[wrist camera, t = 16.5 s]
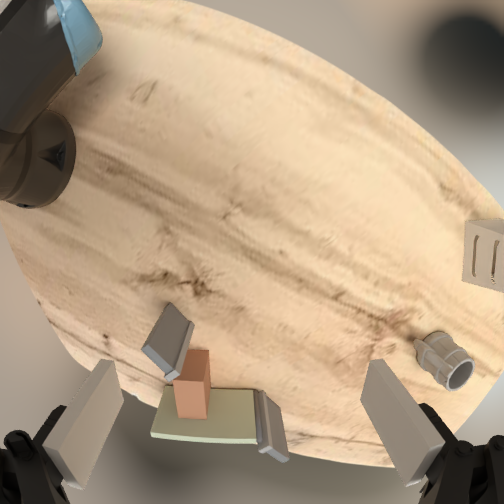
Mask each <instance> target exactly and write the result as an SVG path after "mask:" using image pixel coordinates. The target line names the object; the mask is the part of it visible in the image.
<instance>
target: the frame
mask: <svg viewBox="0 0 504 504" xmlns="http://www.w3.org/2000/svg"><path fill="white" fill-rule="evenodd" d="M194 326H195V325H194V324H193V323H192V322H189V321H188V320H187V319H186V318H185V317H184V316H183V315H182V314H181V313H180V312H179V311H178V310H177V309H176V308H175V306H174V305H173V304H172V303H170V304H169V305H167V306H166V307H165V308H164V310H163V312H162V314H161V315H160V317H159V319H158V320H157V322H156V324H155V326H154V327H153V329H152V331H151V333H150V334H149V336H148V338H147V340H146V341H145V343H144V345H143V347H142V349H141V350H142V351H143V352H144V353H145V354H146V355H147V356H148V357H149V358H150V359H151V360H152V361H153V362H154V363H155V364H156V365H157V366H158V367H159V368H160V369H161V370H162V371H163V372H165V376H164V378H165V379H166V380H167V381H168V382H170V381H171V380H173V379H174V378H176V377H177V376H179V375H180V374H181V370H182V367H183V363H184V360H185V356H186V353H187V350H188V346H189V343H190V340H191V336H192V333H193V330H194ZM258 400H259V410H260V420H261V430H262V442H261V443H258V451H259V452H260V453H264V452H266V453H268V454H269V455H271V456H273V457H274V458H276V459H277V460H279V461H281V462H282V463H284V462H286V461H288V460H290V458H289V453H288V447H287V442H286V437H285V431H284V426H283V420H282V415H281V410H280V407H279V406H278V405H276V404H275V403H274V402H273V401H272V400H271V399H270V398H268V397H267V396H266V393H265V392H264V391H263V390H262V391H261V392H259V393H258Z"/></svg>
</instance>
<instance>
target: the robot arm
mask: <svg viewBox="0 0 504 504" xmlns="http://www.w3.org/2000/svg"><path fill="white" fill-rule="evenodd" d="M102 40H103V39H102V33H101V31H100V29H99V27H98V25H97V23H96V22H95V20H94V18H93V17H92V15H91V13H90V12H89V10H88V9H87V7H86V6H85V5H84V3H83V2H82V0H0V200H4V201H6V202H9V203H11V204H14V205H17V206H19V207H22V208H27V209H31V208H38V207H43V206H46V205H48V204H50V203H51V202H53V201H54V200H55V199H56V198H57V197H58V196H59V195H60V194H61V193H62V191H63V190H64V188H65V187H66V185H67V183H68V181H69V179H70V177H71V174H72V171H73V167H74V162H75V154H76V146H75V138H74V134H73V131H72V128H71V126H70V124H69V123H68V121H67V120H66V119H65V118H64V117H63V116H62V115H60V114H58V113H56V112H53V111H50V110H45V109H46V108H47V107H48V106H49V104H50V103H51V102H52V101H53V100H54V99H55V97H56V96H57V95H58V94H59V93H60V92H61V91H62V89H63V88H64V87H65V86H66V85H67V84H68V83H69V82H70V81H71V80H72V79H73V78H74V77H75V76H77V75H78V74H79V73H80V70H81V69H82V68H83V67H84V65H85V64H86V63H87V62H88V61H89V60H90V59H91V58H92V57H93V56H94V55H95V54H96V53H97V52H98V51H99V49H100V47H101V45H102ZM360 401H361V403H362V405H363V406H364V408H365V410H366V412H367V414H368V416H369V418H370V420H371V421H372V423H373V425H374V427H375V429H376V431H377V433H378V435H379V437H380V439H381V441H382V442H383V444H384V446H385V448H386V450H387V452H388V454H389V456H390V458H391V460H392V462H393V464H394V466H395V468H396V470H397V472H398V474H399V476H400V477H401V479H402V481H403V483H404V485H405V487H407V486H410V485H413V484H415V483H418V482H420V481H421V480H422V478H423V477H424V475H425V474H426V476H427V478H428V481H427V482H426V483H425V485H424V486H423V488H422V489H421V491H420V493H422V491H423V493H422V496H421V498H420V501H419V504H504V436H502V435H496V436H493V437H492V438H491V439H490V440H489V442H488V443H487V444H486V445H479V446H473V445H472V444H471V443H469V442H467V441H462V440H460V441H458V440H457V439H456V437H455V436H454V435H453V433H452V432H451V431H450V429H449V428H448V427H447V426H446V424H445V423H444V422H442V419H441V418H440V417H439V416H438V414H437V413H436V412H435V410H434V409H433V408H432V407H430V406H429V405H427V404H426V403H422V404H417V403H416V401H415V400H414V399H413V397H412V396H411V395H410V393H409V392H408V391H407V389H406V388H405V387H404V386H403V384H402V383H401V382H400V380H399V379H398V378H397V376H396V375H395V374H394V373H393V371H392V370H391V369H390V367H389V366H388V365H387V364H386V362H385V361H384V360H383V359H377V360H370V363H369V367H368V371H367V375H366V379H365V383H364V387H363V391H362V395H361V398H360ZM123 402H124V399H123V396H122V392H121V388H120V384H119V380H118V377H117V373H116V368H115V364H114V361H112V360H105V359H101V360H100V361H99V362H98V364H97V365H96V366H95V368H94V369H93V371H92V372H91V374H90V375H89V376H88V378H87V379H86V380H85V382H84V383H83V385H82V386H81V388H80V389H79V391H78V392H77V393H76V395H75V396H74V398H73V399H72V401H71V402H70V404H69V405H68V406H63V405H60V406H59V407H57V408H56V409H54V410H53V411H52V412H51V414H50V415H49V417H48V419H47V420H46V421H45V422H44V425H42V427H41V428H40V430H39V431H38V432H37V434H36V436H35V437H34V438H33V440H31V438H30V436H29V434H27V433H26V432H25V431H22V430H15V431H12V432H10V433H9V434H7V435H6V437H5V438H4V445H5V446H6V448H7V450H6V449H1V448H0V504H70V502H69V500H68V498H67V496H66V493H65V491H64V488H63V487H62V485H61V482H62V480H63V478H64V480H65V481H66V482H67V484H68V485H69V486H72V487H75V488H78V489H81V490H84V488H85V486H86V483H87V481H88V479H89V477H90V474H91V472H92V469H93V467H94V465H95V463H96V460H97V458H98V456H99V453H100V451H101V449H102V447H103V444H104V442H105V440H106V438H107V436H108V434H109V432H110V429H111V427H112V425H113V423H114V421H115V419H116V416H117V414H118V412H119V410H120V408H121V406H122V404H123Z"/></svg>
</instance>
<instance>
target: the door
mask: <svg viewBox="0 0 504 504" xmlns="http://www.w3.org/2000/svg"><path fill="white" fill-rule="evenodd" d="M151 436H152V437H157V438H165V439H175V440H183V441H195V442H212V443H256V442H257V443H261V442H262V430H261V420H260V410H259V400H258V391H257V390H254V391H253V390H231V389H210V397H209V406H208V414H207V420H203V419H187V418H178V412H177V406H176V400H175V394H174V387H173V386H165V389H164V392H163V395H162V398H161V401H160V404H159V407H158V410H157V413H156V416H155V419H154V422H153V426H152V429H151Z"/></svg>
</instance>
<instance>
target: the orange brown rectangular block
mask: <svg viewBox="0 0 504 504" xmlns="http://www.w3.org/2000/svg"><path fill="white" fill-rule="evenodd" d="M173 387H174V394H175V400H176V406H177V412H178V418H187V419H203V420H207V414H208V406H209V397H210V389H211V382H210V365H209V350H187V353H186V356H185V360H184V363H183V367H182V370H181V374H180V375H179V376H177V377H176V378H174V379H173Z"/></svg>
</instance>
